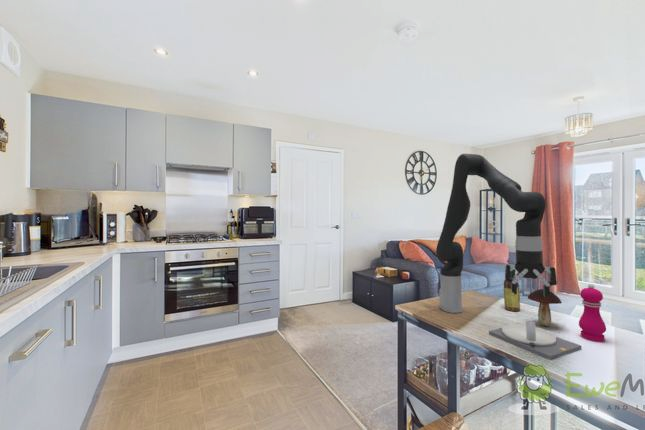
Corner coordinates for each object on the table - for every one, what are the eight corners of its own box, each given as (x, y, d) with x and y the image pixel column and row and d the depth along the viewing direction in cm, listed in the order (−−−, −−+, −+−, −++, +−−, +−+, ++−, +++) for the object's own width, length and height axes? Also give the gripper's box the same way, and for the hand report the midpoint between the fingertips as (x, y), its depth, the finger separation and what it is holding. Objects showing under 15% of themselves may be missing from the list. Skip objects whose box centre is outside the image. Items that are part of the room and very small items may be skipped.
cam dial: (500, 324, 113) (499, 306, 113) (549, 331, 105) (549, 312, 105) (504, 342, 97) (504, 322, 97) (563, 352, 89) (563, 330, 89)
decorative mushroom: (550, 321, 118) (549, 286, 118) (569, 331, 107) (568, 293, 107) (522, 320, 120) (521, 285, 120) (538, 330, 109) (537, 292, 109)
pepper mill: (573, 334, 105) (572, 282, 105) (591, 333, 106) (589, 281, 106) (593, 343, 98) (592, 287, 98) (612, 341, 98) (611, 286, 98)
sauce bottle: (522, 312, 129) (521, 269, 129) (507, 311, 130) (506, 269, 130) (515, 307, 135) (514, 267, 135) (501, 307, 137) (500, 267, 137)
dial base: (489, 334, 107) (488, 330, 107) (517, 326, 113) (517, 323, 113) (550, 360, 87) (550, 355, 87) (581, 349, 94) (581, 345, 94)
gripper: (505, 249, 96) (507, 295, 96) (557, 251, 89) (559, 300, 89) (503, 247, 103) (504, 290, 103) (551, 248, 96) (553, 294, 96)
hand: (530, 295), depth 96 cm, fingers open, 8 cm apart
